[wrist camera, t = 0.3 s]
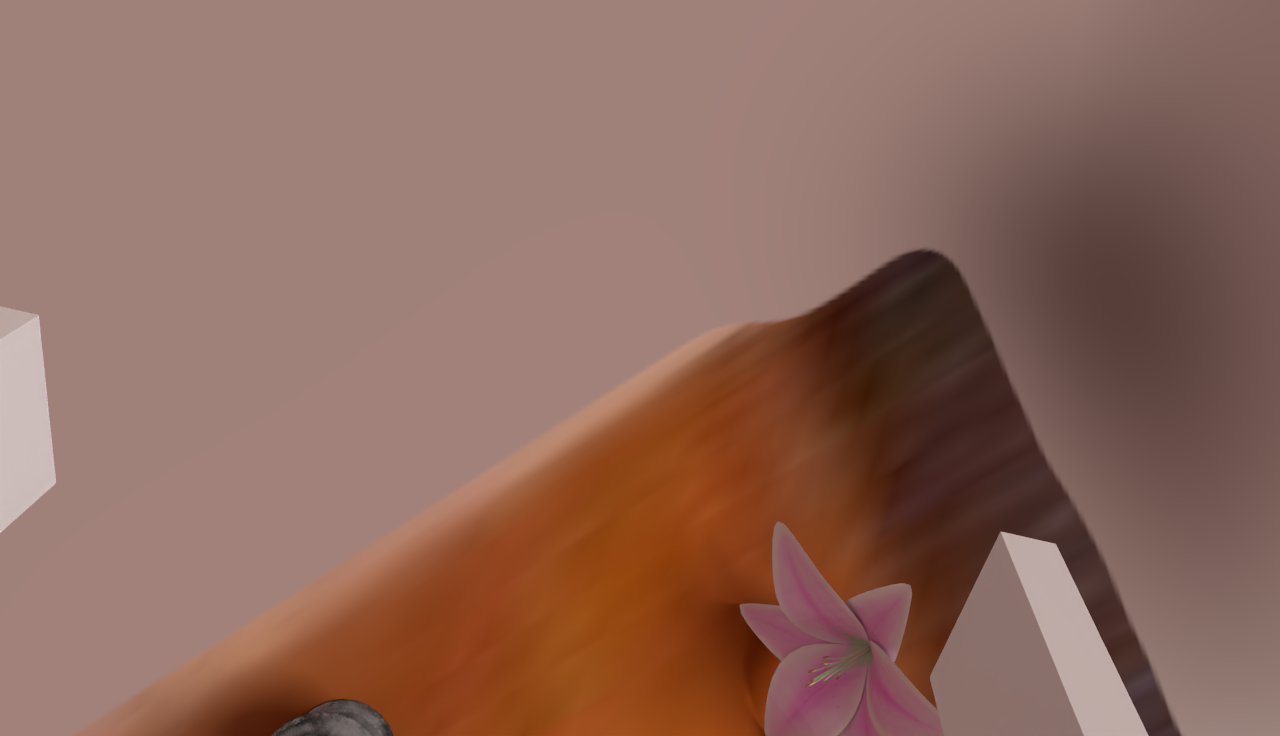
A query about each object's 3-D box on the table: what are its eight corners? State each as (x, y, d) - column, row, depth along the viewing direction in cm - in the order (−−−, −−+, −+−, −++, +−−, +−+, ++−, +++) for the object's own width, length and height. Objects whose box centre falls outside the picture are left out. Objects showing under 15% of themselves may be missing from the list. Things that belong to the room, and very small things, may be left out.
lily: (772, 478, 49) (709, 535, 41) (1011, 532, 45) (999, 610, 36) (743, 687, 52) (679, 783, 43) (968, 758, 47) (947, 881, 39)
